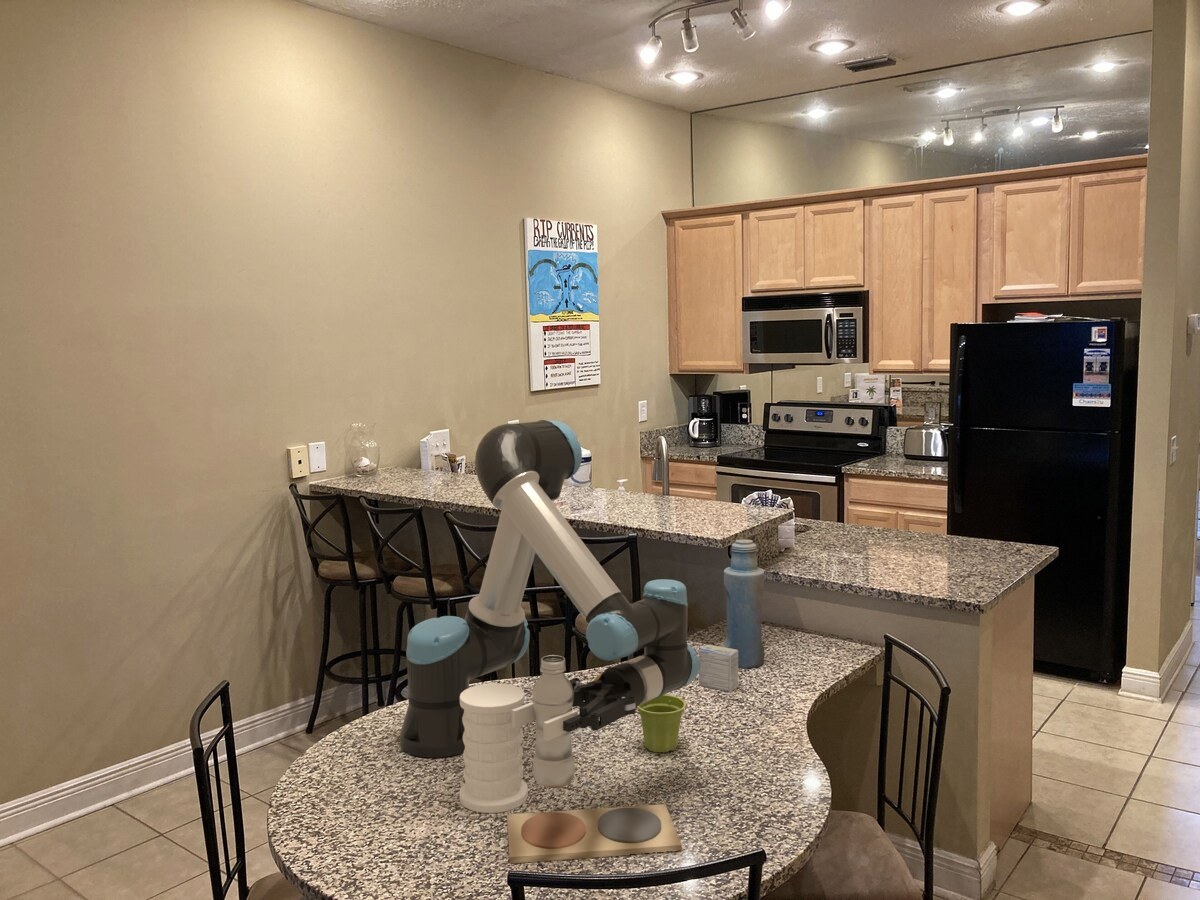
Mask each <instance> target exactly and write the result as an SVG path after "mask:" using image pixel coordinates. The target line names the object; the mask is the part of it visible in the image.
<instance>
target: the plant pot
mask: <svg viewBox="0 0 1200 900" xmlns="http://www.w3.org/2000/svg"><path fill="white" fill-rule="evenodd" d="M686 704H687V703H686V701H685V700H684V699H682V698H681V697H679V696H676V695H670V694H665V695H662V696H660V697H657V698H655V699H652V700H650V701H648V702H645V703H643V705H639V706H637V707H636V708H637V710H638V714H639V715H640V721H641V726H642V727H641V728H642V735H643V743H644V747H645V749H648V750H649V751H650V752H652V751H653V752H652V753H657V752H663V753H662V754H665V753H664V752H666V753H668V752H669V751H674V750H676V749H677V747H678V741H679V733H680V726H681V720H682V716H683V714H684V710H685V709H686Z"/></svg>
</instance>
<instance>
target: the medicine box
mask: <svg viewBox="0 0 1200 900" xmlns="http://www.w3.org/2000/svg"><path fill="white" fill-rule="evenodd" d="M698 659H699V664H700V668H699V672H698V686H699V687H703V688H708V689H712V690H713V689H714V690H719V691H723V692H729V693H731V692H733V690H736V688H737V687H739V668H738V650H736V649H731V648H725V647H724V646H718V645H713V644H706V645H704V646H702V647H701V648H699V650H698Z"/></svg>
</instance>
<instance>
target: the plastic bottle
mask: <svg viewBox="0 0 1200 900" xmlns="http://www.w3.org/2000/svg"><path fill="white" fill-rule="evenodd" d="M566 667H567V666H566V658H565V657H564V656H561V655H556V654H550V655H545V656H543V657H541V660H540V669H539V670H540V672H541V675H539V677H538V678H537V680H536V681H535V682H534V685H533V687H532V691H531V698H532V702H533V706H534V712H535V720H534V721H535V732H536V733H535V747H534V756H533V760H532V767H531V768H532V773H533V774H532V775H533V778H534V779H535V782H536V783H537V784H538V785H539V786H542V787H544V788H548V789H560V788H564V787H567V786H568V785H570V784H571V783H572V781H573V779H574V777H575V771H576V764H575V763H576V762H575V756H574V753H573V744H572V735H571V734H572V733H571V732H572V731H571V732H567V733H565V734H563V735H561V736H558V737H556V738H554V739H551V740H549V741H545V740H544V731H543V722H545V721H548V720H550V719H553V718H555V717H558V716H560V715H562V714H565V713H567V712H570V711H572V710H573V708H574V707H573V699H574V690H573V687H572V684H571V683H570V680H569V678H568V677H567V676H566V675H565V672H566V671H567V668H566Z"/></svg>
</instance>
